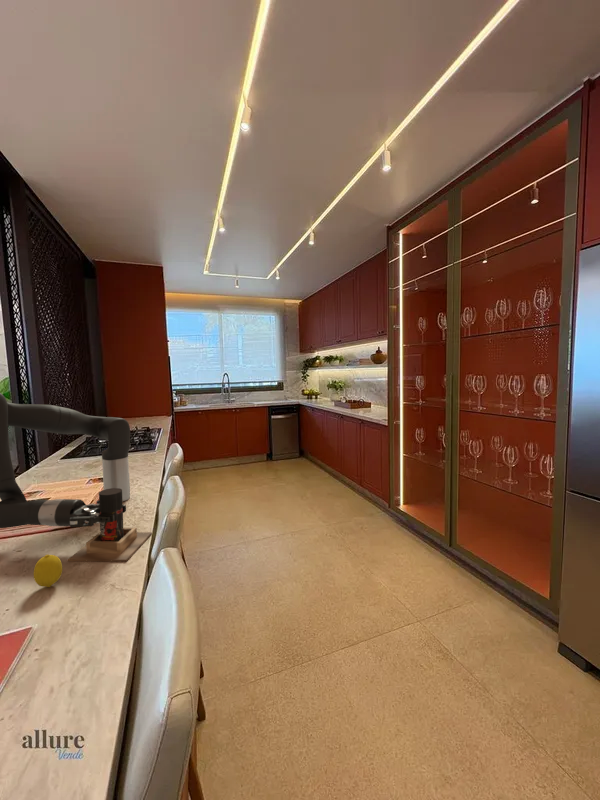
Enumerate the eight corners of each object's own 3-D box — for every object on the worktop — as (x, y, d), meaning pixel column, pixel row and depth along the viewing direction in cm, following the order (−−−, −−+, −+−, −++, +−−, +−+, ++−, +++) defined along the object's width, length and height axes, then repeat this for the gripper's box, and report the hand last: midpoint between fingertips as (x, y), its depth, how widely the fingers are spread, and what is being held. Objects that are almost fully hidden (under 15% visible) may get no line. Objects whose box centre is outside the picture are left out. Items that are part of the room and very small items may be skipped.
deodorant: (127, 537, 104) (126, 488, 103) (115, 546, 98) (113, 495, 97) (109, 535, 105) (107, 487, 104) (96, 545, 99) (94, 494, 98)
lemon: (68, 582, 84) (66, 551, 84) (45, 596, 79) (43, 563, 79) (52, 578, 86) (50, 547, 86) (28, 591, 81) (26, 558, 80)
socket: (101, 534, 110) (101, 523, 109) (151, 534, 110) (151, 523, 109) (67, 561, 94) (66, 548, 93) (126, 561, 94) (125, 549, 93)
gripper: (43, 509, 93) (105, 510, 93) (77, 491, 108) (131, 492, 108) (44, 536, 94) (106, 537, 94) (78, 514, 108) (132, 515, 108)
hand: (119, 513), depth 101 cm, fingers closed on deodorant, 6 cm apart
